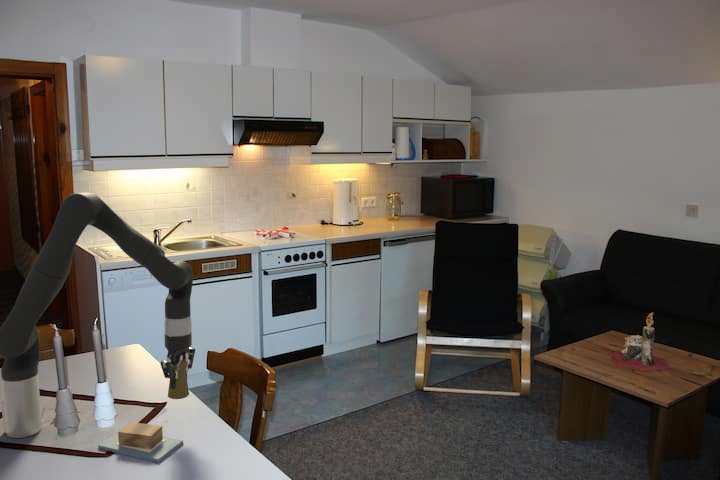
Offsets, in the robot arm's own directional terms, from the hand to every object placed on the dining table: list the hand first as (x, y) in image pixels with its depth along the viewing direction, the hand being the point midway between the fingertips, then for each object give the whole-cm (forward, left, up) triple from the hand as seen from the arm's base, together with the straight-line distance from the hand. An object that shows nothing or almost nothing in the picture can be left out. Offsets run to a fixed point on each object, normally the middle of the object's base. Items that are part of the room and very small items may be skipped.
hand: (178, 387), depth 181 cm
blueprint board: (-5, -11, -14) cm, 19 cm away
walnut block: (-5, -11, -13) cm, 18 cm away
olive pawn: (0, 0, -2) cm, 2 cm away
